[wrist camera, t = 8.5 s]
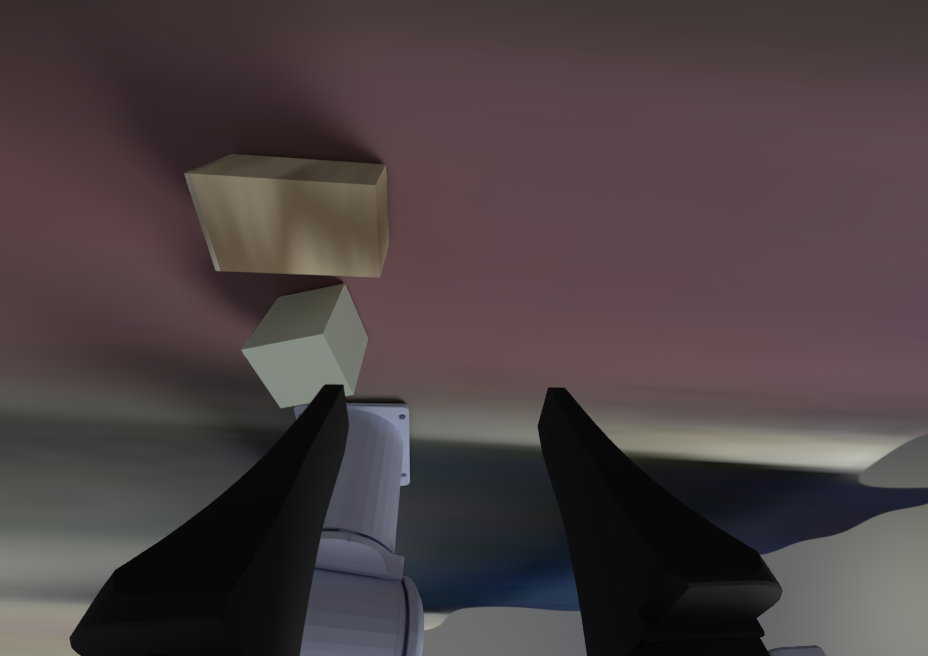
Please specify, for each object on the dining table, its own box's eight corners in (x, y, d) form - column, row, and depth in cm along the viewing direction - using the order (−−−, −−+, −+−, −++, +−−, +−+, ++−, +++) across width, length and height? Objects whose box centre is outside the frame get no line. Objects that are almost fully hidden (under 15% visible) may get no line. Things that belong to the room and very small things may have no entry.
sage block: (368, 338, 24) (353, 394, 19) (307, 350, 24) (280, 408, 20) (344, 283, 21) (322, 333, 17) (278, 296, 22) (240, 349, 17)
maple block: (252, 237, 19) (389, 243, 20) (215, 270, 16) (380, 277, 17) (231, 153, 17) (386, 164, 18) (184, 173, 14) (374, 185, 15)
